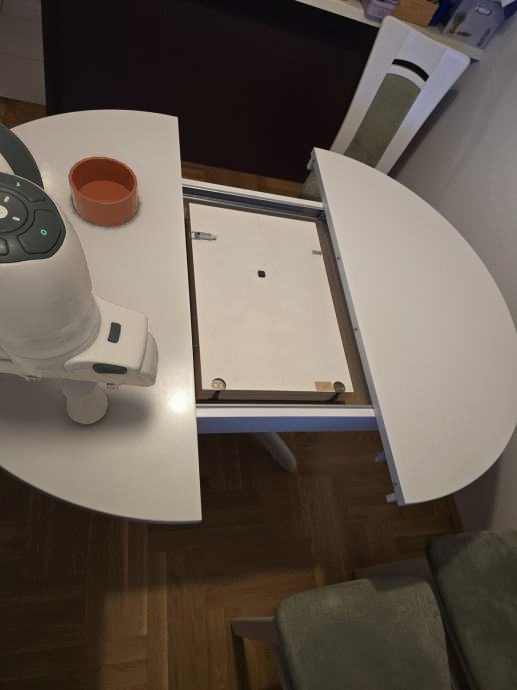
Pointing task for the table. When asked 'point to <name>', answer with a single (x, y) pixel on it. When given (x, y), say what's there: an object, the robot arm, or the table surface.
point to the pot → (104, 191)
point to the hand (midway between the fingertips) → (75, 380)
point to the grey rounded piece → (84, 400)
